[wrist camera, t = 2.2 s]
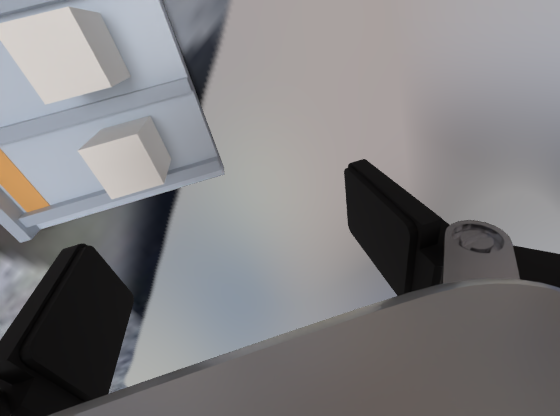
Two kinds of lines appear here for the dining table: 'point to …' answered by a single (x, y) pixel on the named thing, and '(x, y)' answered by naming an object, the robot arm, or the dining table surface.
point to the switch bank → (96, 120)
